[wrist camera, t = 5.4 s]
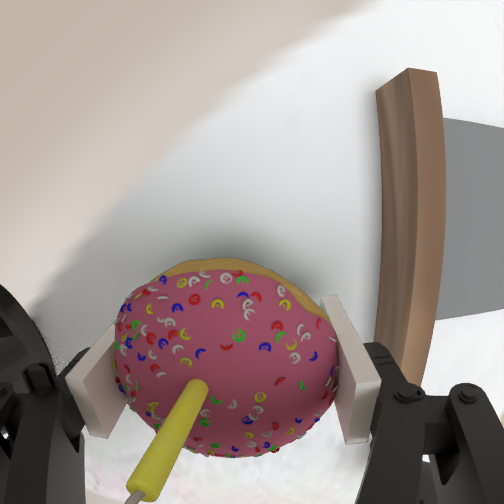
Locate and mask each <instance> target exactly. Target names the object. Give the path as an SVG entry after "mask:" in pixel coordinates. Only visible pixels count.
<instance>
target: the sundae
mask: <svg viewBox="0 0 504 504" xmlns="http://www.w3.org/2000/svg"><path fill="white" fill-rule="evenodd" d="M372 444H373V440H372V442H371V445H370V448H371V447H372ZM416 504H438V500H437V495H436V489H435V484H434V479H433V474H432V469H431V465H430V463H429V462H424V461H422V466H421V474H420V481H419V488H418V495H417V501H416Z"/></svg>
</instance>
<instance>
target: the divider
mask: <svg viewBox="0 0 504 504" xmlns="http://www.w3.org/2000/svg"><path fill="white" fill-rule="evenodd" d="M376 98H377V108H378V119H379V131H380V147H381V168H382V249H381V271H380V286H379V299H378V311H377V321H376V330H375V339H374V342H379V343H380V344H382V345H383V346H385V347H386V348H387V349H388V350H389V352H390V354H391V355H392V357H393V358H394V360H395V363H397V365H398V367H399V368H400V370H401V371H402V373H403V375H404V376H405V378H406V380H407V381H408V383H412V384H415V385H417V386H419V387H420V386H421V382H422V379H423V375H424V371H425V366H426V362H427V358H428V353H429V349H430V344H431V339H432V334H433V328H434V323H435V317H436V311H437V305H438V298H439V291H440V283H441V274H442V265H443V254H444V241H445V223H446V156H445V138H444V126H443V115H442V106H441V98H440V90H439V83H438V77H437V72H432V71H426V70H420V69H414V68H407V69H405V70H404V71H403V72H401V73H400V74H398V75H397V76H396V77H394V78H393V79H391V80H390V81H389V82H387V83H386V84H385V85H383V86H382V87H380V88H379V89H378V90H376Z"/></svg>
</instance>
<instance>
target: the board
mask: <svg viewBox="0 0 504 504" xmlns="http://www.w3.org/2000/svg"><path fill="white" fill-rule="evenodd" d="M443 126H444V138H445V156H446V223H445V241H444V254H443V265H442V274H441V283H440V291H439V298H438V305H437V311H436V317H435V320H441V319H448V318H454V317H461V316H467V315H473V314H479V313H484V312H490V311H495V310H500V309H504V128H500V127H495V126H490V125H485V124H479V123H474V122H468V121H462V120H455V119H449V118H443Z"/></svg>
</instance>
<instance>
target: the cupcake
mask: <svg viewBox="0 0 504 504" xmlns="http://www.w3.org/2000/svg"><path fill="white" fill-rule="evenodd" d="M114 325H115V359H114V360H113V367H114V368H115V369H116V373H117V377H116V380H115V381H116V383H120V384H119V390H120V391H121V392H123V393H124V394H125V395H124V398H125V401H126V402H127V404H128V405H129V406H130V409H132V410H133V412H136V413H137V414H138V415H139V416H140V417H141V418H142V419H143V420H144V421H145V422H146V423H147V424H148V425H149V426H150V427H151V428H153V429H154V430H155V432H156V434H157V435H156V436H155V438H154V439H153V441H152V443H151V444H150V446H149V447H148V449H147V451H146V452H145V454H144V456H143V457H142V459H141V460H140V462H139V464H138V465H137V467H136V468H135V470H134V472H133V473H132V475H131V477H130V478H129V480H128V481H127V484H126V488H127V490H128V492H129V493H130V494H131V495H130V497H129V498H128V499H127V500H126V502H125V504H138V503H139V501H140V500H141V501H145V502H154V501H156V500H157V498H158V497H159V495H160V493H161V491H162V489H163V486H164V484H165V482H166V480H167V478H168V476H169V474H170V472H171V470H172V468H173V466H174V464H175V462H176V459H177V457H178V455H179V453H180V451H181V449H182V448H186V449H188V450H190V451H191V452H193V453H201V454H203V455H204V456H206V457H209V455H211V456H216V457H226V458H239V457H250V456H254V457H257V456H261V455H263V454H265V453H267V452H270V451H271V452H272V453H276V452H278V451H279V449H280V447H282V446H284V445H286V444H288V443H291V442H293V441H295V440H296V439H300V438H302V437H303V436H304V435H305V434H306V431H308V430H309V429H311V428H312V426H313V425H314V424H315V423H316V422H318V421H319V420H320V417H321V416H322V415H323V414H324V413H325V412H326V411H327V410H328V408H329V407H330V406H331V404H332V403H333V401H334V399H335V395H336V389H337V387H338V386H339V385H338V384H337V378H338V373H339V370H338V369H339V366H338V361H337V348H336V341H337V340H336V339H335V334H334V330H333V328H332V326H331V322H330V319H329V317H328V316H327V314H326V313H325V312H324V310H323V309H321V308H320V307H319V306H318V305H317V304H316V303H315V302H313V301H312V300H311V299H310V298H309V297H308V296H307V295H306V294H305V293H304V292H302V291H301V290H300V289H299V288H297V287H296V286H294V285H293V284H292V283H290V282H289V281H287V280H286V279H284V278H283V277H281V276H280V275H278V274H276V273H275V272H273V271H271V270H269V269H267V268H264V267H262V266H259V265H257V264H254V263H251V262H248V261H244V260H240V259H234V258H215V259H203V260H190V261H186V262H183V263H180V264H178V265H176V266H175V267H173V268H171V269H169V270H167V271H166V272H164V273H162V274H160V275H159V276H157V277H156V278H154V279H153V280H152V281H151V282H150V283H148V284H145V285H143V286H141V287H139V288H137V289H135V290H134V291H133V292H132V293H131V294H129V295H128V296H127V297H126V298H125V302H124V304H123V305H122V306H121V308H120V311H119V314H118V316H117V319H116V320H115V322H114ZM117 379H118V381H117ZM119 379H120V380H119ZM129 403H130V404H129ZM157 432H158V433H157ZM273 450H274V451H273ZM275 450H276V451H275Z"/></svg>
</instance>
